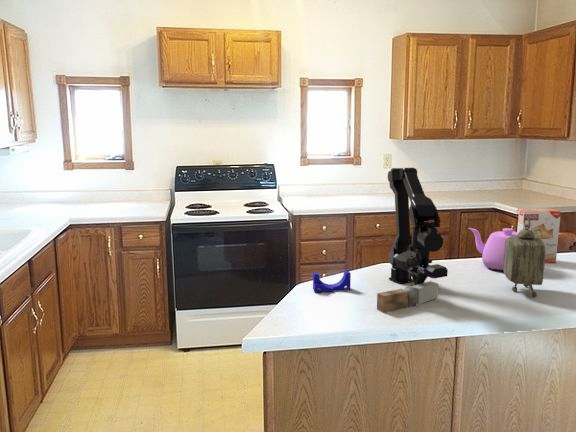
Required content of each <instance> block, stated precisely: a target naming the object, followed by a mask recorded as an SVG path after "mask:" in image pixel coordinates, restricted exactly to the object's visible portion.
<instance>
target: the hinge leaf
mask: <svg viewBox="0 0 576 432" xmlns="http://www.w3.org/2000/svg"><path fill="white" fill-rule="evenodd" d="M403 290H406V291H408V299H415V298H417V305H419V304H423V303H426V302H429V301H432V300H435V299H438V297H439V283H438V282H435V281H432V280H429V281H425V282H424V283H422V284H418V285H415V286H414V285H411V286H407V287H404V288H403Z"/></svg>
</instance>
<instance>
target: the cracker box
mask: <svg viewBox="0 0 576 432" xmlns="http://www.w3.org/2000/svg"><path fill="white" fill-rule="evenodd" d="M561 214H562V211H561V210H558V209H554V208H519V209H518V218H517V227H516V229H517V231H516V232H517V233H519V232H520V231H521V230H525V227H524V217H525V216H529V218H530V228H529V229H528V230H531V231H532V232H533V233H534V236H535V237H538V238H540V239H541V240H542V241H543V242H544V245H545V264H556V263H557V255H558V254H557V253H558V244H559V234H560V225H561ZM525 224H528V226H529V222H528V219H527V218H526V219H525Z"/></svg>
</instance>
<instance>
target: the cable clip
mask: <svg viewBox="0 0 576 432" xmlns="http://www.w3.org/2000/svg"><path fill="white" fill-rule="evenodd" d="M351 277H352V276H351V272H350V270H344V271H343V276H342V277H341V279H340V280H339V281H337V282H335V283H333V284H328V283H325V282H323V280H321V278H320V273H319V272H318V271H312V290H313V292H314V293H315V294H326V293H327V294H328V293H334V292H342V291H345V292H346V291H351V280H352V279H351Z"/></svg>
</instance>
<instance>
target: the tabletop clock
mask: <svg viewBox="0 0 576 432" xmlns="http://www.w3.org/2000/svg"><path fill="white" fill-rule="evenodd" d="M526 218H527V219H528V222H529V226H528V224H525V219H526ZM524 227H525V230H521V231H520V232H519V233H518V235H517V236H511V237H509V238H507V239H506V240H505V250H504V270H503V274H504V276H505V278H506V279H507V280H508V281H510V282H511V283H513V284H514V285H513V286H512V287H511V290H512V291H513V292H517V290H518V287H517V286H518V285H523V287H525V288H528V287H529V289H530V291H531V297H533V298H537V296H538V294H537V292H535V291H534V288H533V286H542V285H543V281H544V276H545V275H544V274H545V265H546V263H545V245H544V242H543V241H542V240H541V239H540V238H538V237H535V236H534V233H533V232H532V231H531V230H528V229H529V228H530V218H529V216H525V217H524Z"/></svg>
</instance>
